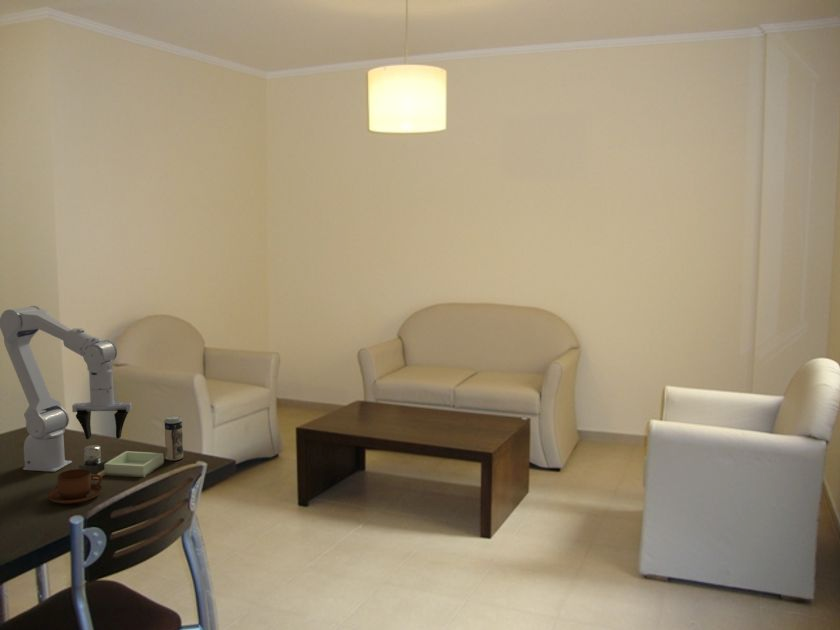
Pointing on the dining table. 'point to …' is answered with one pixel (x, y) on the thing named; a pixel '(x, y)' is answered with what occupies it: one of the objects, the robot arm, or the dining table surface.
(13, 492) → the dining table surface
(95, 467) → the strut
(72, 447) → the dining table surface
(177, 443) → the lidded jar
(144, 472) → the tray
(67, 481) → the cup and saucer
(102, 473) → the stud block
